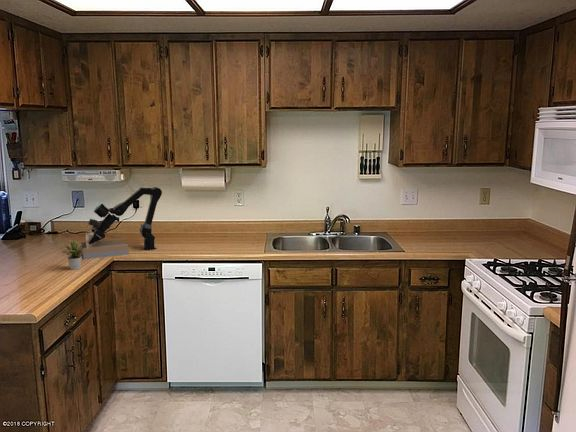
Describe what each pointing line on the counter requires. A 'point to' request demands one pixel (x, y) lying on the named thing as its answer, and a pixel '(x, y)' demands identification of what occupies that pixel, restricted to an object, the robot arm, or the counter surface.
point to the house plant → (74, 256)
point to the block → (88, 238)
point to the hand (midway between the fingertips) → (88, 242)
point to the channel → (105, 249)
